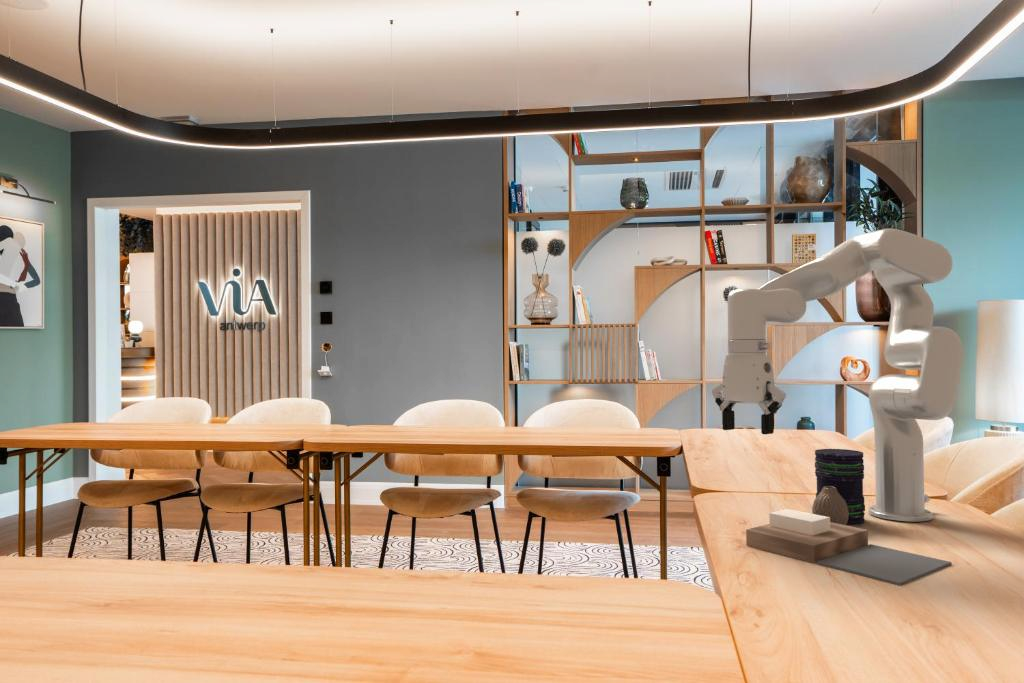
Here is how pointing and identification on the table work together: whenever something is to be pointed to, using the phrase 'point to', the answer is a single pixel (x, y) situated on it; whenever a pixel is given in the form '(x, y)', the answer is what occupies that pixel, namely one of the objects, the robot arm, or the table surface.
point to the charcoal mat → (885, 564)
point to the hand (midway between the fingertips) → (747, 431)
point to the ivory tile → (799, 521)
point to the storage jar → (843, 478)
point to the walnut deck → (807, 541)
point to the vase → (831, 505)
